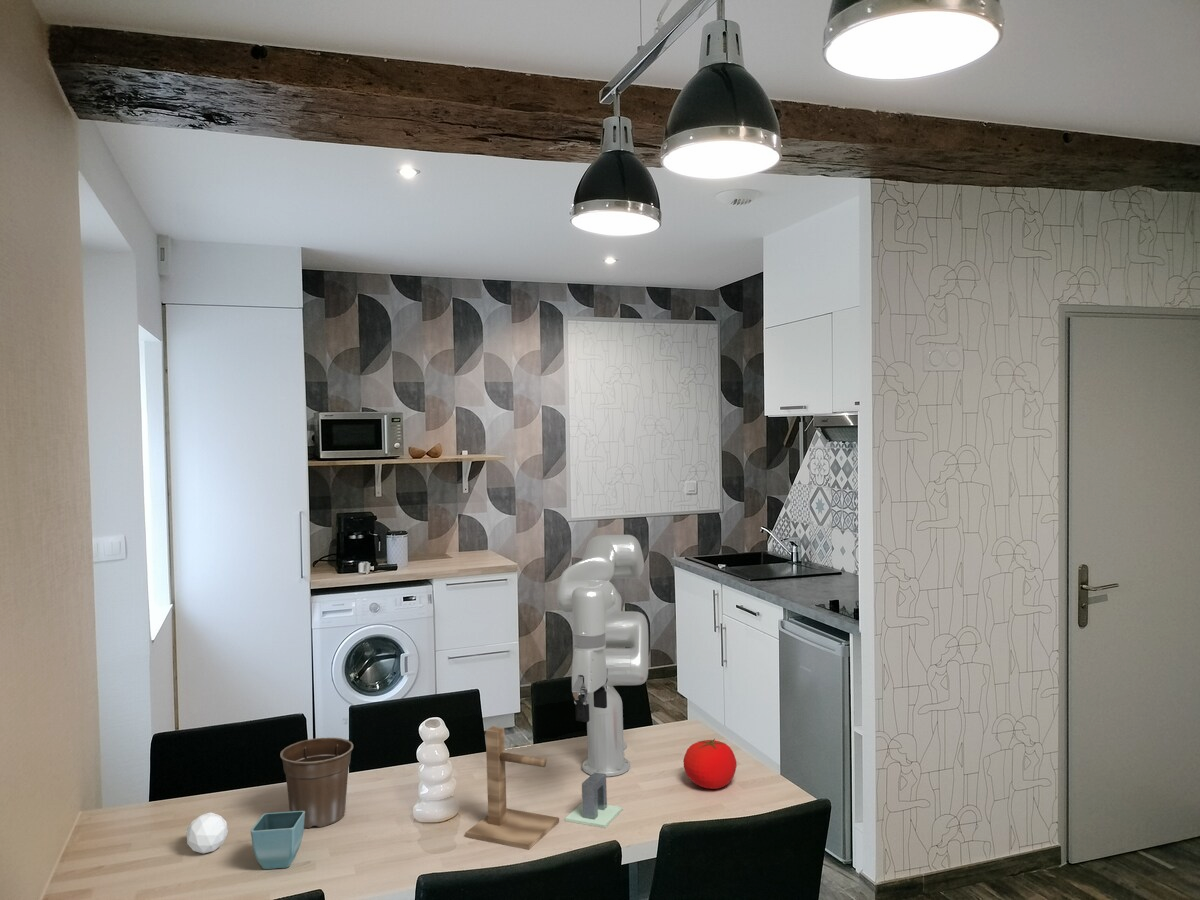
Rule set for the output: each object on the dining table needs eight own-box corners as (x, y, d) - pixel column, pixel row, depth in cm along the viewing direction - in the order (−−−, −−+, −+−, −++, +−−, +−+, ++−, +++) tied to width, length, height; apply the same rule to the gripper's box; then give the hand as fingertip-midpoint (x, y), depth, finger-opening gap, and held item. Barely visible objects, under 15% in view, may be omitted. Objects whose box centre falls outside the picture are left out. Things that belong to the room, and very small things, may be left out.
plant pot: (369, 809, 199) (367, 741, 199) (320, 838, 184) (318, 765, 184) (317, 798, 206) (315, 733, 206) (266, 826, 191) (264, 756, 191)
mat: (584, 803, 199) (584, 800, 199) (622, 809, 195) (622, 807, 195) (565, 820, 190) (565, 818, 190) (605, 828, 186) (605, 825, 186)
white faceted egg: (192, 849, 173) (162, 842, 180) (224, 859, 178) (194, 852, 185) (210, 810, 177) (181, 804, 184) (241, 821, 183) (211, 815, 189)
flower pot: (264, 854, 178) (263, 812, 178) (306, 851, 178) (305, 809, 178) (250, 875, 169) (249, 831, 169) (295, 872, 170) (294, 828, 170)
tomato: (746, 786, 206) (745, 741, 206) (706, 799, 199) (705, 753, 199) (714, 771, 216) (713, 729, 216) (675, 784, 209) (674, 740, 209)
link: (595, 805, 196) (594, 772, 196) (606, 807, 195) (606, 774, 195) (582, 817, 190) (581, 783, 190) (594, 819, 189) (593, 785, 189)
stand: (498, 811, 196) (496, 717, 196) (561, 822, 189) (558, 725, 189) (465, 837, 183) (462, 737, 183) (531, 850, 176) (528, 746, 176)
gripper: (590, 630, 202) (592, 701, 202) (557, 648, 186) (560, 724, 186) (619, 633, 199) (621, 704, 199) (588, 651, 183) (590, 728, 183)
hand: (591, 714), depth 193 cm, fingers open, 9 cm apart
